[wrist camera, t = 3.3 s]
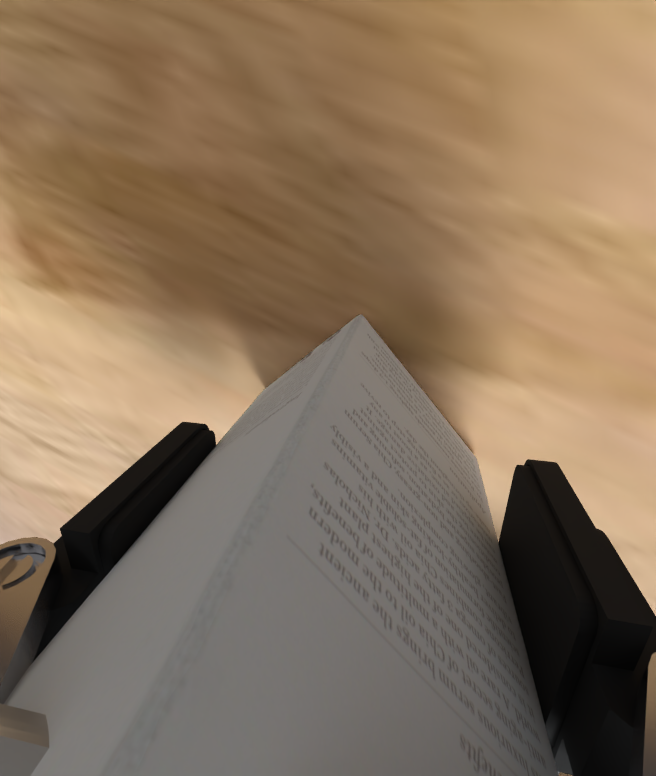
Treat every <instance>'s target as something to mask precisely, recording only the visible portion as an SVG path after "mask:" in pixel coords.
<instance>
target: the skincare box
mask: <svg viewBox="0 0 656 776" xmlns="http://www.w3.org/2000/svg"><path fill="white" fill-rule="evenodd" d="M4 705H8V706H12V707H16V708H21V709H25V710H29V711H33V712H37V713H41V714H45V715H46V718H47V724H48V729H49V749H48V751H47V752H46V754H45V755H44V757H43V758H42V759H41V761H40V762H39V764H38V765H37V767H36V768H35V770H34V771H33V773H32V774H31V776H559V775H558V772H557V768H556V764H555V760H554V757H553V753H552V749H551V745H550V742H549V738H548V734H547V730H546V726H545V723H544V719H543V715H542V711H541V707H540V703H539V699H538V695H537V691H536V687H535V683H534V679H533V675H532V672H531V668H530V664H529V660H528V655H527V651H526V648H525V644H524V640H523V636H522V633H521V629H520V625H519V621H518V617H517V614H516V610H515V606H514V602H513V598H512V594H511V590H510V587H509V583H508V579H507V575H506V571H505V567H504V563H503V559H502V555H501V551H500V547H499V544H498V540H497V536H496V532H495V529H494V525H493V521H492V516H491V512H490V509H489V505H488V501H487V496H486V493H485V489H484V485H483V481H482V477H481V473H480V469H479V465H478V462H477V458H476V457H475V455H474V454H473V453H472V452H471V451H470V449H469V448H468V447H467V446H466V444H465V443H464V442H463V440H462V439H461V438H460V437H459V435H458V434H457V433H456V432H455V430H454V429H453V428H452V427H451V425H450V424H449V423H448V422H447V420H446V419H445V418H444V416H443V415H442V414H441V413H440V411H439V410H438V409H437V408H436V406H435V405H434V404H433V403H432V402H431V400H430V399H429V398H428V396H427V395H426V394H425V392H424V391H423V390H422V389H421V388H420V386H419V385H418V384H417V383H416V381H415V380H414V379H413V378H412V376H411V375H410V374H409V373H408V371H407V370H406V369H405V367H404V366H403V365H402V364H401V362H400V361H399V360H398V359H397V358H396V356H395V355H394V354H393V353H392V351H391V350H390V349H389V348H388V346H387V345H386V344H385V343H384V341H383V340H382V339H381V338H380V336H379V335H378V334H377V333H376V331H375V330H374V329H373V328H372V326H371V325H370V324H369V322H368V321H367V320H366V318H365V317H364V316H363V315H358V316H356V317H355V318H354V319H353V320H351V321H350V322H349V323H348V324H346V325H345V326H344V327H343V328H341V329H340V330H339V331H337V332H336V333H335V334H333V335H332V336H331V337H329V338H328V339H327V340H325V341H324V342H323V343H321V344H320V345H319V346H318V347H316V348H315V349H314V350H313V351H311V352H310V353H309V354H308V355H306V356H305V357H304V358H303V359H302V360H300V361H299V362H298V363H297V364H295V365H294V366H293V367H292V368H291V369H289V370H288V371H287V372H286V373H284V374H283V375H282V376H281V377H279V378H278V379H277V380H276V381H274V382H273V383H272V384H270V385H269V386H268V387H267V388H265V389H264V390H263V391H262V392H261V394H260V395H259V396H258V397H257V398H256V399H255V401H254V402H253V403H252V404H251V405H250V407H249V408H248V409H247V410H246V411H245V412H244V414H243V415H242V416H241V417H240V418H239V419H238V421H237V422H236V423H235V424H234V425H233V426H232V427H231V428H230V430H229V431H228V432H227V433H226V434H225V436H224V437H223V438H222V439H221V440H220V442H219V443H218V444H217V445H216V446H215V448H214V449H213V450H212V451H211V452H210V454H209V455H208V456H207V457H206V458H205V459H204V461H203V462H202V463H201V464H200V465H199V466H198V468H197V469H196V470H195V471H194V472H193V474H192V475H191V476H190V477H189V478H188V480H187V481H186V482H185V483H184V484H183V486H182V487H181V488H180V489H179V490H178V491H177V493H176V494H175V495H174V496H173V497H172V498H171V500H170V501H169V502H168V503H167V504H166V505H165V507H164V508H163V509H162V510H161V511H160V513H159V514H158V515H157V516H156V517H155V519H154V520H153V521H152V522H151V523H150V524H149V526H148V527H147V528H146V529H145V530H144V532H143V533H142V534H141V535H140V537H139V538H138V539H137V540H136V541H135V542H134V544H133V545H132V546H131V547H130V548H129V549H128V551H127V552H126V553H125V554H124V555H123V557H122V558H121V559H120V560H119V561H118V563H117V564H116V565H115V566H114V567H113V569H112V570H111V571H110V572H109V573H108V575H107V576H106V577H105V578H104V579H103V580H102V581H101V583H100V584H99V585H98V586H97V587H96V588H95V590H94V591H93V592H92V593H91V594H90V595H89V596H88V598H87V599H86V600H85V601H84V602H83V604H82V605H81V606H80V607H79V608H78V609H77V611H76V612H75V613H74V614H73V615H72V617H71V618H70V619H69V620H68V621H67V623H66V624H65V625H64V626H63V627H62V628H61V630H60V631H59V632H58V633H57V634H56V636H55V637H54V638H53V639H52V640H51V642H50V643H49V644H48V645H47V646H46V647H45V649H44V650H43V651H42V652H41V653H40V655H39V656H38V657H37V658H36V659H35V661H34V662H33V663H32V664H31V665H30V666H29V668H28V669H27V671H26V672H25V673H24V675H23V676H22V678H21V679H20V680H19V682H18V683H17V685H16V686H15V688H14V689H13V691H12V692H11V694H10V695H9V697H8V698H7V700H6V701H5V703H4Z"/></svg>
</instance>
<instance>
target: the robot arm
mask: <svg viewBox="0 0 656 776" xmlns="http://www.w3.org/2000/svg"><path fill="white" fill-rule="evenodd" d="M215 446H216V441H215V434H214V432H213V431H210V430H209V428H208V426H207V425H206V424H199V423H190V422H182V423H180V424H179V425H178V426H177V427H176V428H175V429H173V430H172V431H171V432H170V433H169V434H168V435H167V436H165V437H164V438H163V439H162V440H161V441H160V442H159V443H157V444H156V445H155V446H154V447H153V448H152V449H151V450H149V451H148V452H147V453H146V454H145V455H144V456H143V457H141V458H140V459H139V460H138V461H137V462H136V463H135V464H133V465H132V466H131V467H130V468H129V469H128V470H127V471H125V472H124V473H123V474H122V475H121V476H120V477H118V478H117V479H116V480H115V481H114V482H113V483H112V484H110V485H109V486H108V487H107V488H106V489H105V490H104V491H102V492H101V493H100V494H99V495H98V496H97V497H96V498H94V499H93V500H92V501H91V502H90V503H89V504H88V505H86V506H85V507H84V508H83V509H82V510H81V511H80V512H78V513H77V514H76V515H75V516H74V517H73V518H71V519H70V520H69V521H68V522H67V523H66V524H65V525H63V526H62V527H61V528H60V531H61V534H62V536H61V537H60V538H59V539H58V540H57V541H56V542H55V543H54V544H53V543H52V542H50V541H49V540H47V539H44V538H38V537H30V538H21V539H17V540H13V541H8V542H6V543H3V544H1V545H0V776H31V774H32V773H33V771H34V770H35V768H36V767H37V765H38V764H39V762H40V761H41V759H42V758H43V757H44V755H45V754H46V752H47V751H48V749H49V729H48V724H47V718H46V715H45V714H41V713H37V712H33V711H29V710H25V709H21V708H16V707H12V706H8V705H4V703H5V701H6V700H7V698H8V697H9V695H10V694H11V692H12V691H13V689H14V688H15V686H16V685H17V683H18V682H19V680H20V679H21V678H22V676H23V675H24V673H25V672H26V671H27V669H28V668H29V666H30V665H31V664H32V663H33V662H34V661H35V659H36V658H37V657H38V656H39V655H40V653H41V652H42V651H43V650H44V649H45V647H46V646H47V645H48V644H49V643H50V642H51V640H52V639H53V638H54V637H55V636H56V634H57V633H58V632H59V631H60V630H61V628H62V627H63V626H64V625H65V624H66V623H67V621H68V620H69V619H70V618H71V617H72V615H73V614H74V613H75V612H76V611H77V609H78V608H79V607H80V606H81V605H82V604H83V602H84V601H85V600H86V599H87V598H88V596H89V595H90V594H91V593H92V592H93V591H94V590H95V588H96V587H97V586H98V585H99V584H100V583H101V581H102V580H103V579H104V578H105V577H106V576H107V575H108V573H109V572H110V571H111V570H112V569H113V567H114V566H115V565H116V564H117V563H118V561H119V560H120V559H121V558H122V557H123V555H124V554H125V553H126V552H127V551H128V549H129V548H130V547H131V546H132V545H133V544H134V542H135V541H136V540H137V539H138V538H139V537H140V535H141V534H142V533H143V532H144V530H145V529H146V528H147V527H148V526H149V524H150V523H151V522H152V521H153V520H154V519H155V517H156V516H157V515H158V514H159V513H160V511H161V510H162V509H163V508H164V507H165V505H166V504H167V503H168V502H169V501H170V500H171V498H172V497H173V496H174V495H175V494H176V493H177V491H178V490H179V489H180V488H181V487H182V486H183V484H184V483H185V482H186V481H187V480H188V478H189V477H190V476H191V475H192V474H193V472H194V471H195V470H196V469H197V468H198V466H199V465H200V464H201V463H202V462H203V461H204V459H205V458H206V457H207V456H208V455H209V454H210V452H211V451H212V450H213V449H214V448H215ZM498 544H499V547H500V551H501V555H502V559H503V563H504V567H505V571H506V575H507V579H508V583H509V587H510V590H511V594H512V598H513V602H514V606H515V610H516V614H517V617H518V621H519V625H520V629H521V633H522V636H523V640H524V644H525V648H526V651H527V655H528V660H529V664H530V668H531V672H532V675H533V679H534V683H535V687H536V691H537V695H538V699H539V703H540V707H541V711H542V715H543V719H544V723H545V726H546V730H547V734H548V738H549V742H550V745H551V749H552V753H553V757H554V760H555V764H556V768H557V771H558V772H562V773H566V774H571V775H573V776H656V616H655V614H654V613H653V611H652V609H651V608H650V606H649V604H648V603H647V601H646V599H645V598H644V596H643V595H642V593H641V591H640V590H639V588H638V586H637V585H636V583H635V581H634V580H633V578H632V577H631V575H630V573H629V572H628V570H627V568H626V567H625V565H624V563H623V562H622V560H621V558H620V557H619V555H618V554H617V552H616V550H615V549H614V547H613V545H612V544H611V542H610V540H609V539H608V537H607V536H606V535H605V533H604V532H603V531H601V530H599V529H596V528H595V526H594V524H593V523H592V521H591V519H590V518H589V516H588V514H587V513H586V511H585V509H584V508H583V506H582V504H581V502H580V501H579V499H578V497H577V496H576V494H575V492H574V491H573V489H572V487H571V485H570V484H569V482H568V480H567V479H566V477H565V475H564V474H563V472H562V470H561V469H560V467H559V465H558V464H557V463H555V462H547V461H538V460H529V459H528V460H527V461H526V462H525V464H524V465H517V466H516V468H515V471H514V475H513V480H512V485H511V489H510V494H509V498H508V503H507V507H506V512H505V516H504V521H503V525H502V530H501V534H500V539H499V543H498Z"/></svg>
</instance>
